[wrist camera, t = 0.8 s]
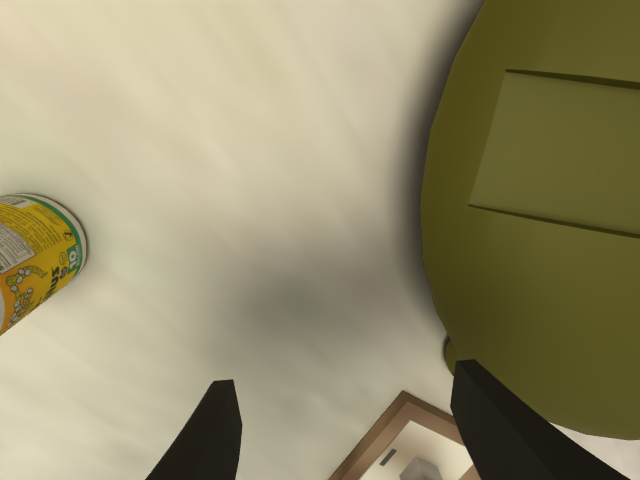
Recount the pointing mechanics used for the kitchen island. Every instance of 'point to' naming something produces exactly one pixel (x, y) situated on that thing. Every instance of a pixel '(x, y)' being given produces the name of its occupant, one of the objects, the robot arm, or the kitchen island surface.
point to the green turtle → (542, 208)
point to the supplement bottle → (35, 254)
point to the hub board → (410, 447)
